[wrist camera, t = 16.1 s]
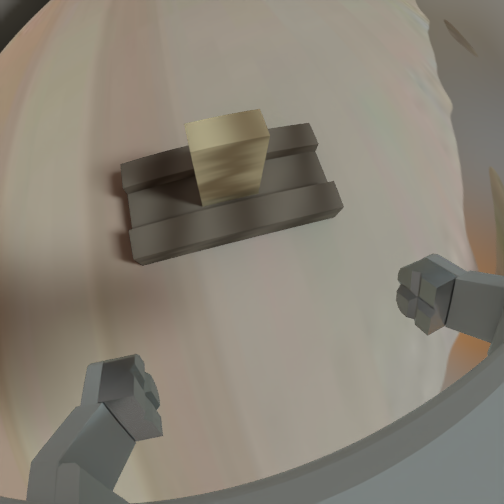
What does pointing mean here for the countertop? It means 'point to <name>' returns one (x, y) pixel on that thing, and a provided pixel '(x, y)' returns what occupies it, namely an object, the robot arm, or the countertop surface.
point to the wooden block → (228, 155)
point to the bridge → (228, 212)
